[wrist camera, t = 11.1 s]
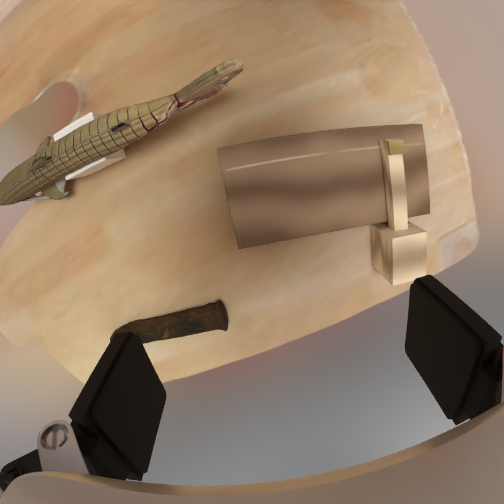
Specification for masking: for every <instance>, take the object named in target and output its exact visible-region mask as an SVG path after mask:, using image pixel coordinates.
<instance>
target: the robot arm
mask: <svg viewBox="0 0 504 504" xmlns="http://www.w3.org/2000/svg"><path fill="white" fill-rule="evenodd" d="M501 339H502V336H501V335H500V334H499V333H498V332H497V331H495V330H494V329H493V328H492V327H491V326H490V325H489V324H488V323H487V322H486V321H485V320H483V319H482V318H481V317H480V316H479V315H478V314H477V313H476V312H475V311H474V310H472V309H471V308H470V307H469V306H468V305H467V304H466V303H464V302H463V301H462V300H461V299H459V297H457V296H456V295H455V294H454V293H453V292H451V291H450V290H449V289H448V288H447V287H445V286H444V285H443V284H442V283H441V282H439V281H438V280H437V279H435V278H434V277H433V276H432V275H426V276H423V277H419V278H416V279H415V280H414V283H413V284H411V286H410V297H409V310H408V321H407V332H406V340H405V351H406V354H407V356H408V357H409V359H410V360H411V362H412V363H413V365H414V366H415V368H416V370H417V371H418V372H419V374H420V376H421V377H422V379H423V380H424V382H425V383H426V385H427V386H428V388H429V390H430V391H431V393H432V394H433V396H434V397H435V399H436V401H437V402H438V404H439V405H440V407H441V409H442V410H443V412H444V414H445V415H446V417H447V418H448V419H452V420H453V422H454V423H455V425H458V424H460V423H462V422H464V421H465V420H467V419H470V420H469V421H467V422H465V423H463V424H462V425H459V426H457V427H455V428H453V429H451V430H449V431H447V432H445V433H442V434H441V435H438V436H436V437H434V438H432V439H429V440H427V441H424V442H422V443H420V444H417V445H415V446H412V447H410V448H407V449H405V450H402V451H399V452H396V453H393V454H391V455H388V456H385V457H382V458H379V459H375V460H372V461H369V462H365V463H362V464H358V465H355V466H351V467H347V468H344V469H339V470H336V471H331V472H327V473H322V474H317V475H312V476H307V477H301V478H295V479H288V480H282V481H274V482H265V483H256V484H241V485H220V486H186V485H167V484H154V483H144V482H134V481H126V478H127V479H130V480H138V481H142V476H143V473H146V472H147V470H148V467H149V463H150V459H151V455H152V451H153V447H154V443H155V439H156V435H157V431H158V427H159V423H160V420H161V416H162V412H163V408H164V405H165V401H166V391H165V389H164V387H163V385H162V383H161V381H160V379H159V377H158V375H157V373H156V371H155V369H154V367H153V365H152V363H151V361H150V359H149V357H148V355H147V353H146V351H145V349H144V347H143V344H142V342H141V340H140V338H139V337H138V336H137V335H134V333H133V332H122V333H116V334H115V335H114V337H113V339H112V340H111V342H110V343H109V345H108V347H107V348H106V350H105V352H104V353H103V355H102V357H101V358H100V360H99V362H98V363H97V365H96V367H95V369H94V370H93V372H92V374H91V375H90V377H89V379H88V381H87V382H86V384H85V386H84V388H83V389H82V392H81V393H80V395H79V397H78V398H77V400H76V402H75V404H74V406H73V408H72V410H71V411H70V413H69V417H70V418H71V419H72V422H71V424H69V423H68V422H66V421H63V420H56V421H53V422H51V423H49V424H47V425H46V426H45V427H44V428H43V429H42V430H41V431H40V433H39V435H38V438H37V447H38V449H36V450H34V451H32V452H30V453H28V454H26V455H24V456H22V457H20V458H18V459H16V460H14V461H12V462H10V463H8V464H7V465H5V466H4V467H3V468H2V470H1V472H0V504H504V345H503V344H502V343H501Z"/></svg>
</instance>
